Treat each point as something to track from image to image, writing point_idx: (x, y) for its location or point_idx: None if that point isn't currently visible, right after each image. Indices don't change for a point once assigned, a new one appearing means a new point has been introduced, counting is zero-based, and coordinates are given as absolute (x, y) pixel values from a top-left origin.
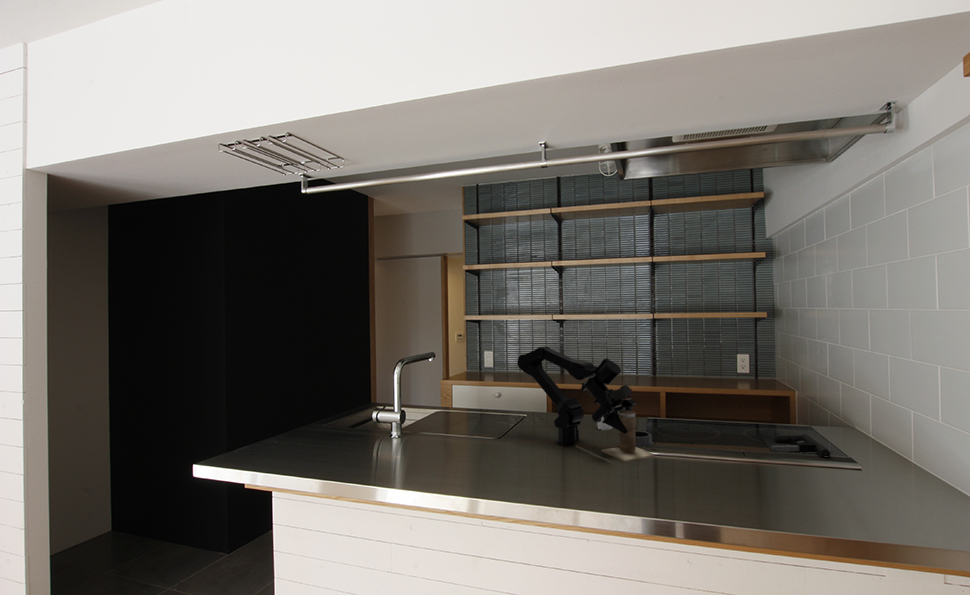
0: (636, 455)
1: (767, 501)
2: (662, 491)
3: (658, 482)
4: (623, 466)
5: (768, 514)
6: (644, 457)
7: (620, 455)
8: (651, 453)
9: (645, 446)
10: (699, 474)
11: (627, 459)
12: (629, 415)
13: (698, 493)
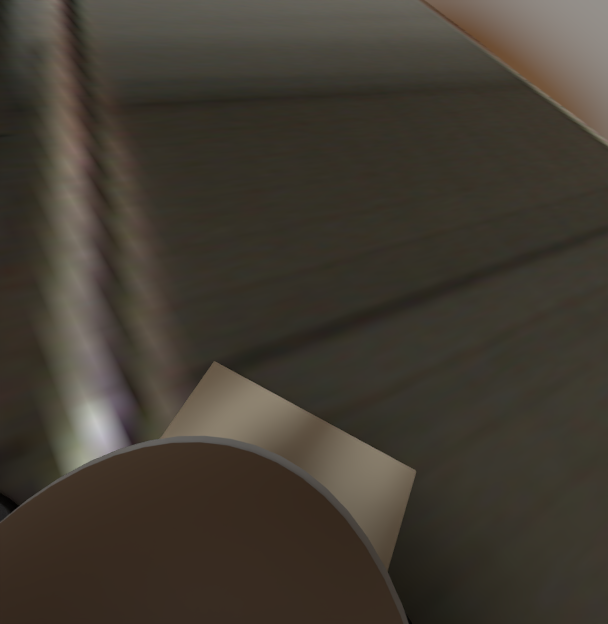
0: (292, 443)
1: (397, 84)
2: (538, 235)
3: (484, 264)
4: (433, 458)
5: (460, 81)
6: (280, 399)
7: None
8: (203, 386)
9: (2, 509)
10: (314, 195)
11: (390, 457)
12: (342, 506)
13: (468, 171)
